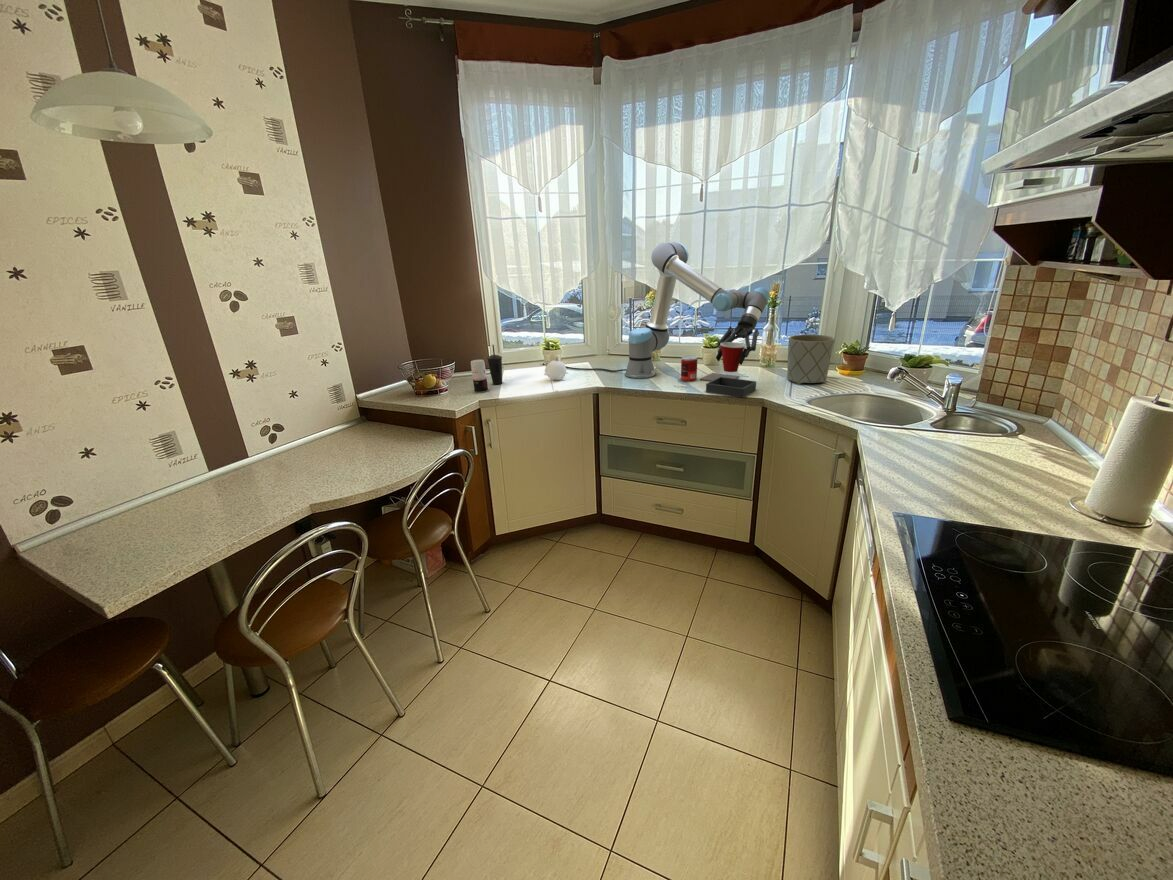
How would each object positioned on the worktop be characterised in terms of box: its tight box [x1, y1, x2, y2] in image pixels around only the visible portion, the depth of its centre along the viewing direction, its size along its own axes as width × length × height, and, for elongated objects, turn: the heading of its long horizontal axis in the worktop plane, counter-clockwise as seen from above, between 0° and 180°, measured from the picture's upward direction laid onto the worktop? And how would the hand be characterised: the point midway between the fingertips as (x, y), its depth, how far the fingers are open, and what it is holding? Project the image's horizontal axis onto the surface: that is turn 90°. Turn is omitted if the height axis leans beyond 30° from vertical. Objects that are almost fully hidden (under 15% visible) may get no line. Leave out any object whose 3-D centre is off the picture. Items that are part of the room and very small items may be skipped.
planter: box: [786, 334, 836, 385], centre depth 220 cm, size 19×19×20 cm
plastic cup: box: [720, 341, 746, 373], centre depth 209 cm, size 11×11×12 cm
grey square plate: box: [699, 372, 740, 382], centre depth 235 cm, size 14×14×1 cm
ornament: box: [545, 356, 567, 381], centre depth 245 cm, size 10×10×12 cm
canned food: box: [680, 355, 698, 382], centre depth 234 cm, size 8×8×11 cm
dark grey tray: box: [705, 377, 757, 399], centre depth 213 cm, size 17×14×4 cm
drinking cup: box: [486, 344, 503, 386], centre depth 242 cm, size 8×8×20 cm
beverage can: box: [470, 359, 489, 394], centre depth 231 cm, size 6×7×15 cm
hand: (728, 361), depth 207 cm, fingers closed on plastic cup, 10 cm apart
